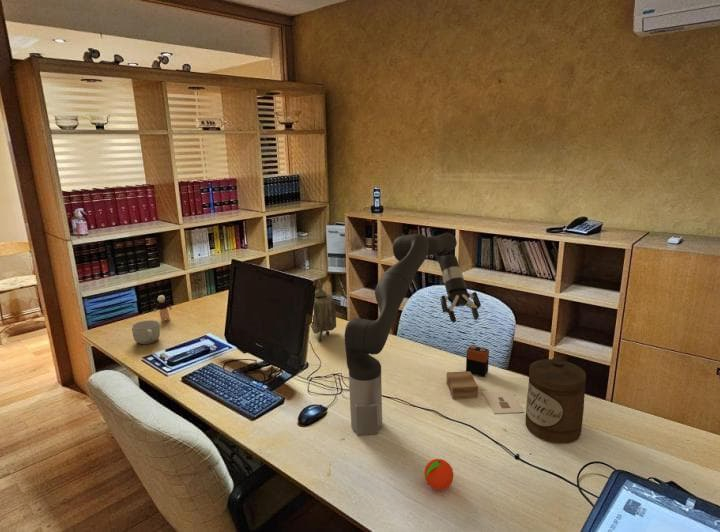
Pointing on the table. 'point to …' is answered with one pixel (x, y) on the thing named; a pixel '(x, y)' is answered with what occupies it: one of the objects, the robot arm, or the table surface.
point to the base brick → (462, 385)
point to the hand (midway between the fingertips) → (465, 320)
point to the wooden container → (555, 400)
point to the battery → (477, 360)
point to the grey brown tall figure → (323, 312)
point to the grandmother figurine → (163, 309)
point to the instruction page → (502, 402)
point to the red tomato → (438, 474)
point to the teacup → (146, 331)
